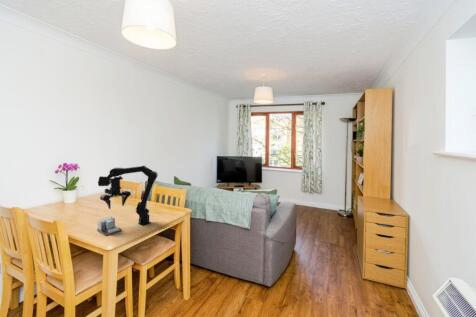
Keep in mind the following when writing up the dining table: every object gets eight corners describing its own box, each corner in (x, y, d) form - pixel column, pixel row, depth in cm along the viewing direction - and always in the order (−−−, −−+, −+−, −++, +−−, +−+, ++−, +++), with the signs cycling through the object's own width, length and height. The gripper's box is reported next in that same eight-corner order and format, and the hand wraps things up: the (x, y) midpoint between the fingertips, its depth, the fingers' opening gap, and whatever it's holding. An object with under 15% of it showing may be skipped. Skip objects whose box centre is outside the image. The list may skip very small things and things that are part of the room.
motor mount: (112, 226, 163) (112, 216, 162) (121, 230, 155) (121, 220, 154) (97, 230, 155) (96, 220, 154) (105, 236, 147) (105, 225, 146)
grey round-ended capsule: (116, 229, 154) (116, 220, 153) (108, 231, 150) (108, 223, 149) (112, 227, 157) (112, 219, 156) (105, 229, 153) (104, 221, 152)
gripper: (123, 182, 174) (123, 202, 176) (96, 186, 159) (97, 208, 161) (130, 184, 167) (131, 205, 169) (103, 188, 152) (104, 211, 154)
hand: (116, 207), depth 163 cm, fingers open, 9 cm apart
